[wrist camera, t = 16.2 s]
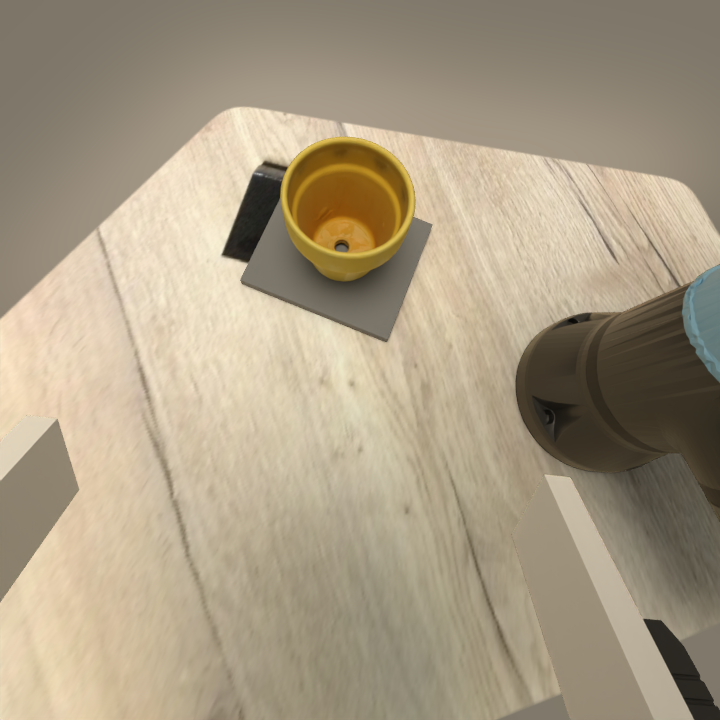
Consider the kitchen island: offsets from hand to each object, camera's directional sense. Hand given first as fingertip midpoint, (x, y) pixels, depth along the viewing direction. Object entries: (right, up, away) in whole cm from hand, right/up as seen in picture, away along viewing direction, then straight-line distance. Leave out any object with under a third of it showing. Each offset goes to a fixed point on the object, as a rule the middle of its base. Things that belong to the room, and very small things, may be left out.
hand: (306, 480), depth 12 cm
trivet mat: (-1, +14, +31) cm, 34 cm away
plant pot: (0, +14, +30) cm, 33 cm away
